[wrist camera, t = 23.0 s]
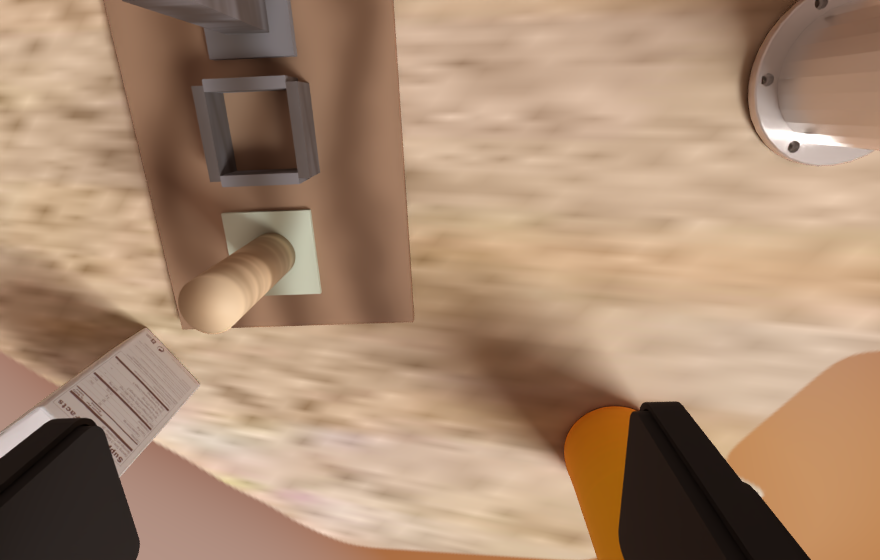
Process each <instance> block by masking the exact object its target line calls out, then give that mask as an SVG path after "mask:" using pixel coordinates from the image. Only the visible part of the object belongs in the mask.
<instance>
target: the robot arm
mask: <svg viewBox="0 0 880 560" xmlns="http://www.w3.org/2000/svg"><path fill="white" fill-rule="evenodd" d="M762 78H763V82H762V83H761V80H762ZM748 105H749V110H750V116H751V120H752V122H753V125H754V127H755V130H756V132H757V134H758V135H759V136H760V138H761V139H762V141H763V142H764V143H765V145H767V146H768V147H769V148H770V149H771V150H772V151H773V152H774V153H776V154H777V155H779V156H781V157H783V158H785V159H787V160H789V161H793V162H796V163H800V164H805V165H813V166H834V165H839V164H843V163H848V162H852V161H854V160H857V159H859V158H862V157H864V156H866V155H868V154H870V153H872V152H873V151H875V150H879V151H880V0H799V1H798V2H797V3H795V4H794V5H793V6H792V7H791V8H790V9H789V10H788V11H787V12H786V13H785V14H784V15H782V16H781V17H780V19H779V20H778V21H777V23H776V24H775V25H774V26H773V28H772V29H771V30H770V31H769V33H768V34H767V36H766V38H765V40H764V41H763V43H762V45H761V47H760V48H759V50H758V53H757V56H756V58H755V61H754V64H753V66H752V70H751V75H750V80H749V85H748ZM788 145H789V146H788ZM618 537H619V544H620V549H621V552H622V555H623V558H624V560H811V559H810V558H809V557H808V556H807V554H806V553H805V552H804V551H803V549H802V548H801V547H800V546H799V544H798V543H797V542H796V541H795V539H794V538H793V537H792V536H791V534H790V533H789V532H788V531H787V529H786V528H785V527H784V526H783V524H782V523H781V522H780V521H779V519H778V518H777V517H776V516H775V514H774V513H773V512H772V511H771V509H770V508H769V507H768V506H767V504H766V503H765V502H764V501H763V499H762V498H761V497H760V496H759V494H758V493H757V492H756V491H755V490H754V489H753V488H752V487H751V486H750V485H749V484H747V483H744V482H742V481H741V479H740V478H739V477H738V476H737V474H736V473H735V472H734V470H733V469H732V468H731V467H730V465H729V464H728V463H727V462H726V460H725V459H724V458H723V456H722V455H721V454H720V453H719V451H718V450H717V449H716V447H715V446H714V445H713V444H712V442H711V441H710V440H709V439H708V437H707V436H706V435H705V433H704V432H703V431H702V430H701V428H700V427H699V426H698V424H697V423H696V422H695V421H694V419H693V418H692V417H691V416H690V414H689V413H688V412H687V410H686V409H685V408H684V407H683V405H681V404H680V403H679V402H645V403H643V404H642V405H641V407H640V411H633V412H632V413H631V415H630V420H629V430H628V440H627V449H626V459H625V469H624V479H623V489H622V498H621V508H620V518H619V528H618ZM139 542H140V541H139V537H138V534H137V531H136V528H135V525H134V521H133V518H132V515H131V512H130V509H129V506H128V503H127V500H126V497H125V494H124V491H123V487H122V485H121V481H120V478H119V475H118V472H117V469H116V466H115V463H114V460H113V456H112V453H111V450H110V447H109V444H108V441H107V438H106V435H105V432H104V430H103V429H102V428H101V427H99V426H97V425H96V423H95V422H94V421H93V420H92V419H89V418H57V419H52V420H50V421H48V422H46V423H44V424H43V425H42V426H41V427H39V428H38V429H37V430H36V431H34V432H33V433H32V434H31V435H29V436H28V437H27V438H25V439H24V440H23V441H22V442H20V443H19V444H18V445H17V446H15V447H14V448H13V449H11V450H10V451H9V452H8V453H6V454H5V455H4V456H3V457H1V458H0V560H136V558H137V556H138V553H139V547H140V543H139Z"/></svg>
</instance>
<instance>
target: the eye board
mask: <svg viewBox="0 0 880 560" xmlns="http://www.w3.org/2000/svg"><path fill="white" fill-rule="evenodd" d="M104 4H105V9H106V13H107V17H108V21H109V25H110V29H111V34H112V38H113V42H114V46H115V50H116V54H117V59H118V63H119V67H120V71H121V75H122V79H123V84H124V88H125V92H126V96H127V100H128V104H129V109H130V113H131V117H132V121H133V125H134V129H135V134H136V138H137V142H138V146H139V150H140V154H141V159H142V163H143V167H144V171H145V175H146V179H147V184H148V188H149V192H150V196H151V200H152V204H153V209H154V213H155V217H156V221H157V225H158V229H159V234H160V238H161V242H162V246H163V250H164V254H165V259H166V263H167V267H168V271H169V275H170V280H171V284H172V288H173V292H174V296H175V300H176V305H177V309H178V313H179V317H180V321H181V325H182V329H195V328H193V327H192V326H190V325H189V324H188V323H187V322H186V321H185V319H184V318H183V316H182V315H181V312H180V310H179V306H178V297H179V293H180V291H181V289H182V288H183V286H184V285H185V284H186V283H188V282H189V281H191V280H192V279H194V278H195V277H197V276H198V275H200V274H202V273H203V272H205V271H206V270H208V269H209V268H211V267H212V266H214V265H215V264H217V263H219V262H220V261H222V260H223V259H225V258H226V257H228V256H229V255H231V254H232V253H234V252H235V251H237V250H239V249H240V248H242V247H243V246H245V245H246V244H248V243H249V242H251V241H252V240H254V239H256V238H257V237H259V236H260V235H262V234H265V233H276V234H279V235H282V236H283V237H285V238H286V239H287V240H288V241H289V242H290V243H291V244H292V246H293V248H294V251H295V263H294V265H293V267H292V269H291V270H290V271H289V272H288V273H287V274H286V275H285V276H284V277H282V278H281V279H280V280H279V281H278V282H277V283H276V284H275V285H274V286H273V287H272V288H271V289H270V290H269V291H268V292H267V293H266V294H265V295H264V296H263V297H262V298H261V299H260V300H259V301H258V302H257V303H256V304H255V305H254V306H253V307H252V308H251V309H250V310H249V311H248V312H247V313H246V314H245V315H243V316H242V317H241V318H240V319H239V320H238V321H237V322H236V323H235V324H234V325H233V326H232V327H231V328H241V327H271V326H302V325H333V324H364V323H394V322H413V320H414V307H413V292H412V276H411V261H410V246H409V231H408V216H407V200H406V185H405V170H404V155H403V139H402V124H401V109H400V94H399V78H398V63H397V48H396V33H395V18H394V2H393V0H104Z"/></svg>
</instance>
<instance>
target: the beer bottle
mask: <svg viewBox="0 0 880 560" xmlns="http://www.w3.org/2000/svg"><path fill="white" fill-rule="evenodd" d="M633 411H636V410H634V409H631V408H627V407H622V406H610V407H603V408H599V409H596V410H594V411H591V412H589V413H587V414H586V415H584V416H583V417H581V418H580V419H579V420H578V421H577V422H576V423H575V424H574V425H573V426H572V428H571V429H570V431H569V433H568V435H567V437H566V441H565V444H564V457H565V463H566V467H567V471H568V473H569V476H570V478H571V481H572V484H573V486H574V489H575V492H576V495H577V498H578V501H579V504H580V507H581V510H582V513H583V516H584V519H585V522H586V525H587V528H588V531H589V534H590V537H591V540H592V544H593V547H594V550H595V553H596V556H597V559H598V560H624V558H623V555H622V552H621V549H620V544H619V537H618V528H619V518H620V508H621V498H622V489H623V479H624V469H625V459H626V449H627V440H628V430H629V420H630V415H631V413H632V412H633Z"/></svg>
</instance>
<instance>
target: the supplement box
mask: <svg viewBox="0 0 880 560" xmlns="http://www.w3.org/2000/svg"><path fill="white" fill-rule="evenodd" d="M199 386H200V384H199V383H198V381H197V380H196V379H195V378H194V377H193V376H192V375H191V374H190V373H189V372H188V371H187V369H186V368H185V367H184V366H183V365H182V364H181V363H180V362H179V361H178V360H177V359H176V358H175V357H174V356H173V354H172V353H171V352H170V351H169V350H168V349H167V348H166V347H165V346H164V345H163V344H162V343H161V342H160V341H159V340H158V339H157V338H156V337H155V336H154V334H153V333H152V332H151V331H150V330H149V329H147V328H143V329H142V330H140V331H139V332H137V333H136V334H134V335H132V336H131V337H129V338H128V339H126V340H125V341H123V342H122V343H120V344H119V345H117V346H116V347H114V348H113V349H112V350H110V351H109V352H107V353H106V354H105V355H103V356H102V357H101V358H99V359H98V360H97V361H95V362H94V363H92V364H91V365H90V366H88V367H87V368H86V369H84V370H83V371H82V372H80V373H79V374H77V375H76V376H75V377H73V378H72V379H71V380H69V381H68V382H67V383H65V384H64V385H62V386H61V387H60V388H58V389H57V390H56V391H54V392H53V393H52V394H50V395H49V396H47V397H46V398H45V399H43V400H42V401H41V402H39V403H38V404H37V405H35V406H34V407H33V408H31V409H30V410H29V411H27V412H26V413H25V414H23V415H22V416H21V417H19V418H18V419H17V420H16V421H14V422H13V423H11V424H10V425H9V426H7V427H6V428H5V429H4V430H2V431H1V432H0V458H1V457H3V456H4V455H5V454H6V453H8V452H9V451H10V450H11V449H13V448H14V447H15V446H17V445H18V444H19V443H20V442H22V441H23V440H24V439H25V438H27V437H28V436H29V435H31V434H32V433H33V432H34V431H36V430H37V429H38V428H39V427H41V426H42V425H43V424H44V423H46V422H48V421H50V420H52V419H57V418H89V419H92V420H93V421H94V422H95V423H96V425H97V426H99V427H101V428H102V429H103V430H104V432H105V435H106V438H107V441H108V444H109V447H110V450H111V453H112V456H113V460H114V463H115V466H116V469H117V472H118V475H119V478H120V476H121V475H122V474H123V473H124V472H125V471H126V470H127V468H128V467H129V466H130V465H131V464H132V463H133V462H134V460H135V459H136V458H137V457H138V456H139V455H140V453H141V452H142V451H143V450H144V449H145V448H146V447H147V446H148V445H149V444H150V442H151V441H152V440H153V439H154V438H155V437H156V436H157V435H158V434H159V432H160V431H161V430H162V429H163V428H164V427H165V426H166V424H167V423H168V422H169V421H170V420H171V419H172V417H173V416H174V415H175V414H176V413H177V412H178V411H179V409H180V408H181V407H182V406H183V405H184V404H185V402H186V401H187V400H188V399H189V398H190V397H191V395H192V394H193V393H194V392H195V391H196V390H197V389H198V387H199Z"/></svg>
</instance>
